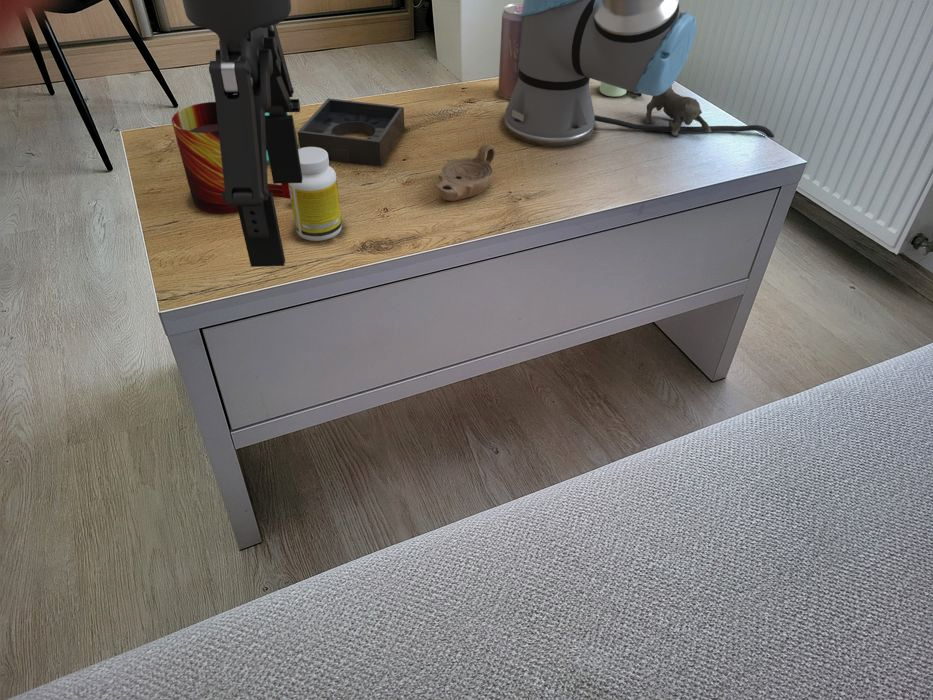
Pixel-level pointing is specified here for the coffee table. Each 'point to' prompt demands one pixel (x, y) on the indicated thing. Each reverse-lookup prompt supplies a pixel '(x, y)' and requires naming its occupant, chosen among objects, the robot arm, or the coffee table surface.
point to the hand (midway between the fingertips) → (279, 219)
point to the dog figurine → (677, 110)
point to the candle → (611, 90)
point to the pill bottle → (316, 197)
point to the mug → (207, 158)
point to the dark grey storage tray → (356, 147)
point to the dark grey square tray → (353, 129)
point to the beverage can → (510, 49)
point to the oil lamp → (466, 175)
